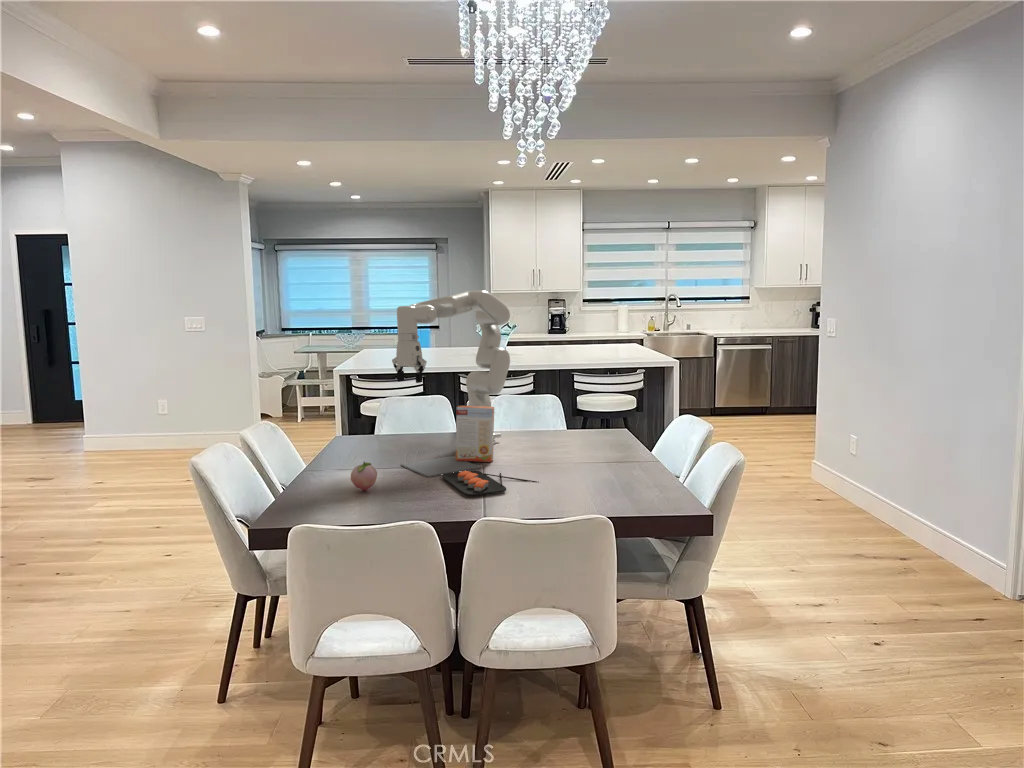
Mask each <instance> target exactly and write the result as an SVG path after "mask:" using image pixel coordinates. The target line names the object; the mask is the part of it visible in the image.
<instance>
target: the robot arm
mask: <svg viewBox="0 0 1024 768" xmlns="http://www.w3.org/2000/svg"><path fill="white" fill-rule="evenodd" d="M471 312H475V313H474V314H475V315H474V316H475V318H476V321H477V322H478V325H479V327H480V329H481V337H480V341H479V345H478V348H477V353H476V356H475V364H476V365H477V366H478V367H479V368H480V369H486V370H488V371H486V370H473V371H470V373H468V375H467V377H466V379H465V386H466V391H467V395H468V406H484V407H492V402H491V398H490V396H491V395H493V396H494V395H498V394H500V393H501V392H502V391H503V389H504V387H505V383H506V380H507V376H508V372H509V368H510V363H511V357H510V353H509V351H508V349H506V348H503V347H501V342H502V332H501V329H500V327H499V326H502V325H505V324H507V323H508V322H509V320H510V318H511V314H510V313H511V312H510V309H509V307H507V305H506V304H504V302H502V301H501V300H499V299H498V298H497V297H496V296H494V294H492V293H491V292H489V291H486V290H480V289H479V290H478V289H477V290H467V291H463V292H459V293H455V294H451V295H447V296H442V297H437V298H434V299H430V300H429V299H428V300H424V301H420V302H416V303H413V304H410V305H400V306H398V307H397V308H396V322H397V343H396V357H394V358H392V359H391V362H392V364H393V368H394V369H395V371H396V377H397V382H404V381H405V371H404V368H411V369H412V368H413V369H414V370H415V383H416V384H419V383H423V372H424V371H425V368H426V366H427V363H428V362H427V360H426V359H425V358H423V352H422V347H421V342H420V341H419V338H420V336H419V333H418V324H421V325H422V324H423V325H429V324H433V322H435V320H437V319H443V318H444V319H445V318H453V317H457V316H461V315H463V314H468V313H471ZM496 438H498V439H499V438H502V433H501V432H497V433H495V432H494V442H493V446H494V445H495V444H496V440H495V439H496Z"/></svg>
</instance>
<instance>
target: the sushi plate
mask: <svg viewBox="0 0 1024 768" xmlns="http://www.w3.org/2000/svg"><path fill="white" fill-rule="evenodd" d="M492 477H498V478H499V479H500V480H499V481H500V482H499V481H497V480H495V479H493V478H492ZM441 478H443V479H444V480H445V482H448V483H449V484H450V485H451V486H453V487H454V488H455V489H457V491H460V492H461V493H462V494H464V495H467V496H482V495H483V494H484V495H489V494H496V493H501V492H505V491H507V487H506V486H505V485H503V479H510V480H515V481H521V482H526V481H532V482H531V483H538V482H537V481H536V480H531V479H523V478H516V477H510V476H503V475H502V472H501V473H500V474H499V475H496V474H490V473H486V472H485V473H484V472H482V471H480V470H468V471H462V472H454V473H447V474H443V475H441ZM502 478H503V479H502Z"/></svg>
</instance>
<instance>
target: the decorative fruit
mask: <svg viewBox="0 0 1024 768" xmlns="http://www.w3.org/2000/svg"><path fill="white" fill-rule="evenodd" d="M377 477H378V471H377V469H376V468H375V467H374V465H372V463H371V462H367V461H366V462H365V461H363V463H362V464H358V465H356V466H355V467H354V468H353V469H352V471H351V472H350V480H351V482H352V484H353V486H354V487H356V488H358V489H359V490H361V491H365V492H366V491H368V490H370V489H371V488H372V487H373V486H374V484H375V483H376V481H377V479H378V478H377Z"/></svg>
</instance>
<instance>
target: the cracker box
mask: <svg viewBox="0 0 1024 768" xmlns="http://www.w3.org/2000/svg"><path fill="white" fill-rule="evenodd" d="M455 422H456V427H455V429H456V430H455V458H456V461H466V462H479V463H491V462H493V459H494V445H493V442H494V440H495V439H494V433H495V431H494V430H495V407H494V406H491V407H484V406H469V405H458V406H456V419H455Z"/></svg>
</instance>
